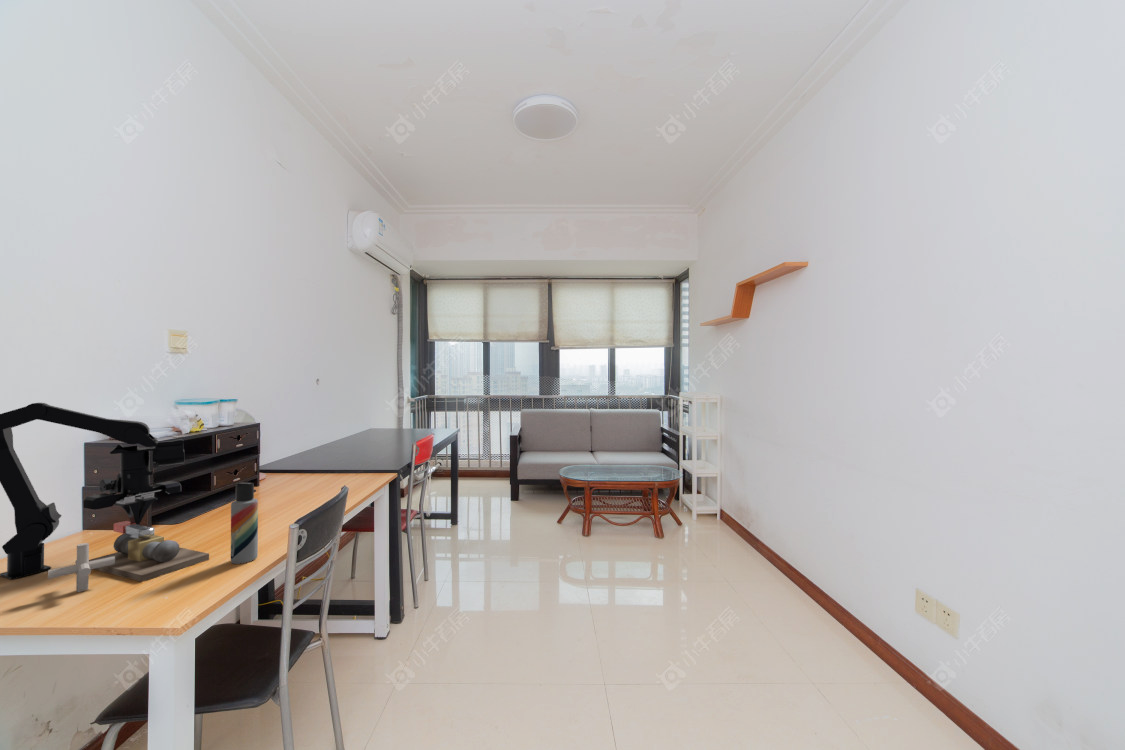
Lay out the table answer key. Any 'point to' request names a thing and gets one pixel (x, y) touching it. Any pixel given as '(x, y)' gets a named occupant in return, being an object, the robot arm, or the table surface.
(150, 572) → the valve mount
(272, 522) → the table surface
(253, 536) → the lotion bottle
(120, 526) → the lever
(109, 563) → the pipe connector
